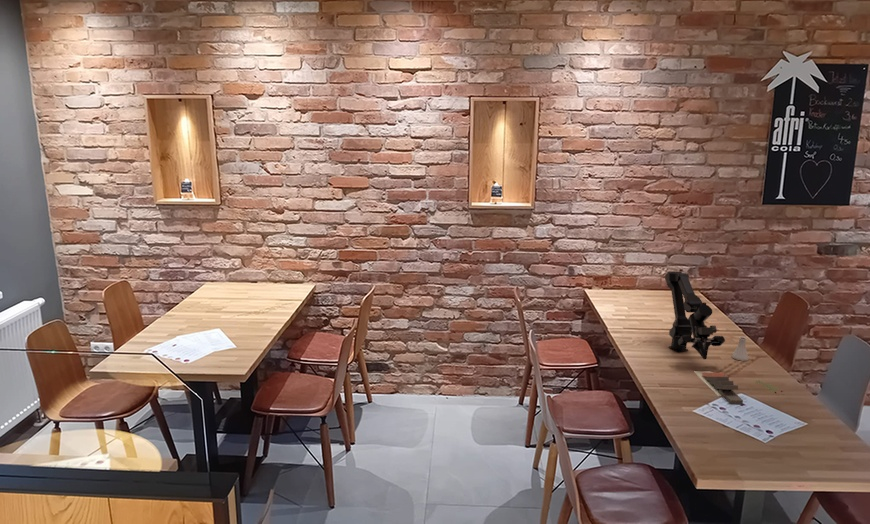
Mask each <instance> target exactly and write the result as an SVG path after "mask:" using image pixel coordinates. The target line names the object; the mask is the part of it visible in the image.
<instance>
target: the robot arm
mask: <svg viewBox="0 0 870 524" xmlns="http://www.w3.org/2000/svg"><path fill="white" fill-rule="evenodd" d="M664 280H665V281H666V285H667V287H668V288H669V289H670V291H671V296H672V297H671V298H672V303H673V310H674V321H673V323H672V327H671V329H670V330H669V331H668V333H669V334H668V335H669V337H670V338H671V344H670V345H671V346H668V348H669V349H670V350H672V351H675V352H676V353H681V352H688V351H689V349H688V348H687V345H688V343H689V344H690V343H691V344H692V345H691V348H693V349H695V351H696V352H697V353H698V354H699V355H700V356H701V358H702V359H703V360H707V358H708V353H709V348H710V346H712V347H721V346H722V345H723V344H724V343H726V339H725V337H724V336H723V335H714V336H713V334H716V333H717V332H718V331H717V326H716V325H709V327H708V326H707V325H706V324H705V321H706V320H708V319H709V318H710V316H711V315H713V308H711V307H710V306H709V305H707V302H703V300H702V299H701V297H699V296H698V295H696V294H695V291H694V288H693V287H692V283H691V281H690V279H689V274H688V273H686V272H682V271H673V270H672V271H667V272H666V273H665V275H664ZM686 313H690V314H689V315H688V317H687V315H686ZM692 336H693V337H692ZM710 336H713V337H711V338H710Z"/></svg>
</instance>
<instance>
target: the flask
mask: <svg viewBox="0 0 870 524" xmlns="http://www.w3.org/2000/svg"><path fill="white" fill-rule="evenodd" d="M738 339H739V342H738V344H737V346H736V348H735V350H734V351H733V353H732V355H731V358H732V359H734V360H735V361H736V360H737V361H743V362H745V361H746V362H747V361H748V360H749V355H748V352H747V346H746V341H747V337H745V336H739V337H738Z"/></svg>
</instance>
